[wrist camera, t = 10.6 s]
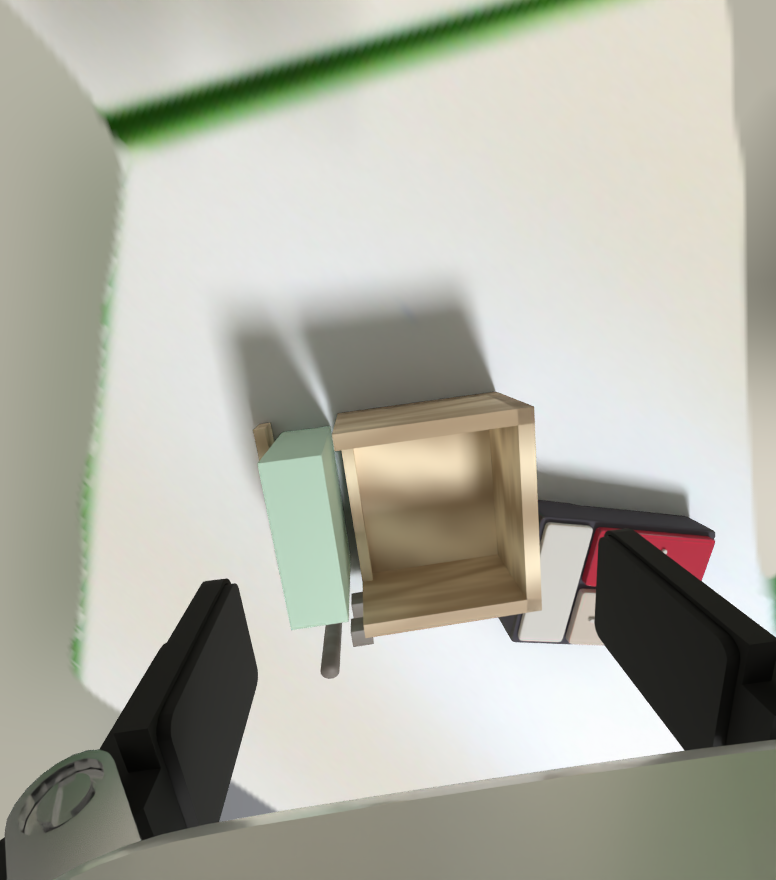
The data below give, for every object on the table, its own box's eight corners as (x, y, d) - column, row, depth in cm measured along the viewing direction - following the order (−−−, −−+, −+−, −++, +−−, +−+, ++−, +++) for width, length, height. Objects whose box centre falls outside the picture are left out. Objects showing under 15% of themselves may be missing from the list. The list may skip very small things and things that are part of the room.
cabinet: (259, 424, 31) (226, 453, 23) (495, 391, 31) (541, 409, 24) (298, 608, 35) (280, 686, 27) (507, 575, 35) (549, 643, 27)
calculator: (683, 655, 34) (513, 650, 32) (646, 621, 39) (493, 613, 36) (727, 535, 32) (546, 520, 30) (682, 512, 36) (520, 497, 34)
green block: (282, 432, 31) (257, 463, 23) (330, 425, 31) (321, 455, 23) (307, 568, 34) (292, 636, 26) (351, 562, 34) (349, 628, 26)
